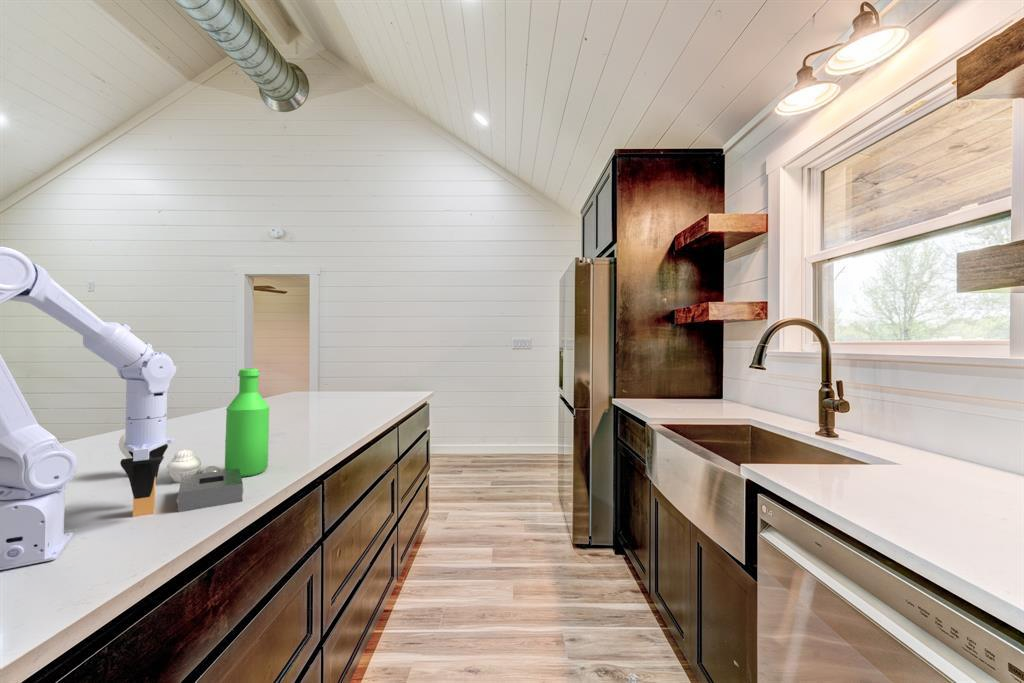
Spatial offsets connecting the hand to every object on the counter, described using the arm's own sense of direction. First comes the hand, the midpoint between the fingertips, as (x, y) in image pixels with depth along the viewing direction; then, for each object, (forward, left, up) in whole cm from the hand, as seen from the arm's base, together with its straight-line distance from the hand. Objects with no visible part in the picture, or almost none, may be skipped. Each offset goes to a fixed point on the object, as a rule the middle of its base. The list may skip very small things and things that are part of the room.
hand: (145, 491), depth 77 cm
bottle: (+18, -17, -4) cm, 25 cm away
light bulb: (+29, +4, -4) cm, 29 cm away
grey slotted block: (+5, -10, -4) cm, 12 cm away
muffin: (+19, -5, -4) cm, 20 cm away
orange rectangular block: (0, 0, -4) cm, 4 cm away
